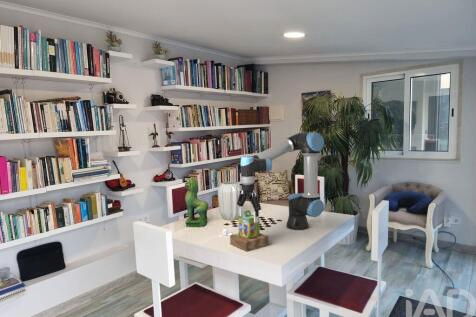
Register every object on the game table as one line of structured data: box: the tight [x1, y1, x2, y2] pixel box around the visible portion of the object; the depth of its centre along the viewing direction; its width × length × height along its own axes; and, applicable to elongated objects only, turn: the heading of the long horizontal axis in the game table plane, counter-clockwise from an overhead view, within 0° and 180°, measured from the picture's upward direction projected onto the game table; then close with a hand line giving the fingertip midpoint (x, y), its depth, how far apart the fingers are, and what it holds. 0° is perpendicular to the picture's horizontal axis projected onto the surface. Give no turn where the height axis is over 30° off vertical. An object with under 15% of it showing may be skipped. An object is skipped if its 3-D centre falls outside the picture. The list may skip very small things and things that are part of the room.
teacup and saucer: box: [218, 228, 233, 238], centre depth 214 cm, size 9×8×4 cm
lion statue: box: [184, 176, 209, 228], centre depth 240 cm, size 14×17×35 cm
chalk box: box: [237, 209, 261, 239], centre depth 194 cm, size 9×9×15 cm
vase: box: [217, 181, 242, 221], centre depth 256 cm, size 20×20×28 cm
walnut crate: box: [229, 232, 270, 253], centre depth 196 cm, size 16×16×6 cm
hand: (249, 219), depth 195 cm, fingers open, 13 cm apart
